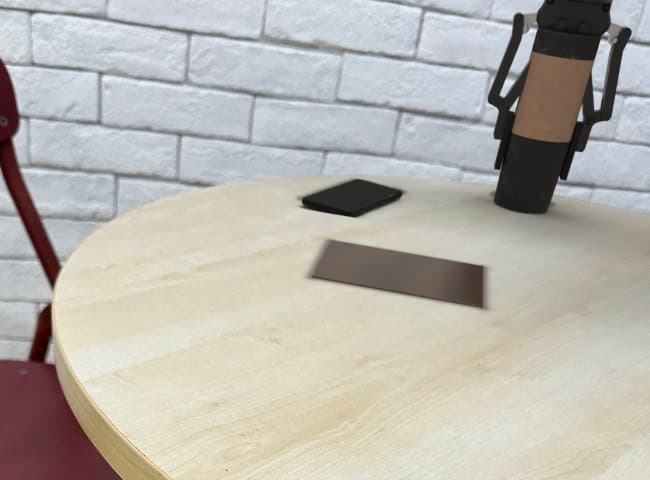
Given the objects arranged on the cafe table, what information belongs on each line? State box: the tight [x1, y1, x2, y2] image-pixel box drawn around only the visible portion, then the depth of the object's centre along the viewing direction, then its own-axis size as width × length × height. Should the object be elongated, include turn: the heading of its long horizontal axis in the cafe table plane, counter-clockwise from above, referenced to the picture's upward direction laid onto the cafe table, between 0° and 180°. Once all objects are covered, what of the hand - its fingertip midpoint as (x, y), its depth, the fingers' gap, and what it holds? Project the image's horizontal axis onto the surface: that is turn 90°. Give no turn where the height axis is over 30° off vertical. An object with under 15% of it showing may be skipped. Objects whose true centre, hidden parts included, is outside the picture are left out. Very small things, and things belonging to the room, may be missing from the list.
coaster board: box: [311, 239, 485, 309], centre depth 83 cm, size 16×12×1 cm
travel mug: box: [493, 26, 602, 215], centre depth 106 cm, size 8×8×20 cm
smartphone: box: [301, 178, 403, 218], centre depth 105 cm, size 7×1×15 cm
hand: (529, 172), depth 110 cm, fingers closed on travel mug, 8 cm apart
